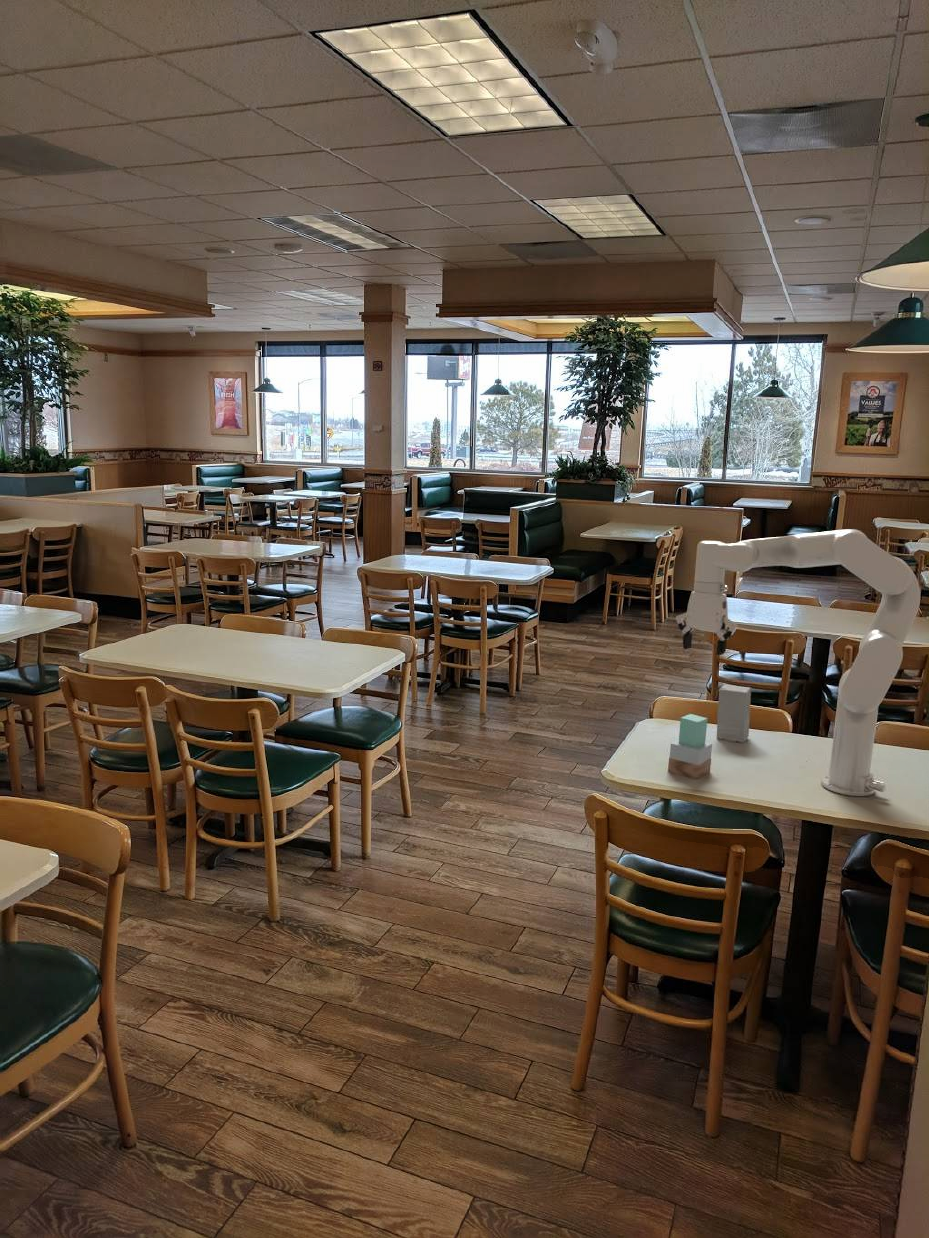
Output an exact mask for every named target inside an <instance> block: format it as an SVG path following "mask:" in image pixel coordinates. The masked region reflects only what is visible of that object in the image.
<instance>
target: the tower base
mask: <svg viewBox="0 0 929 1238" xmlns="http://www.w3.org/2000/svg"><path fill="white" fill-rule="evenodd" d="M667 766H668V768H667V771H668V772H669V771H671V772H670V773H673V774H676V775H680V776H682V777H683V776H684V777H686V778H690V779H691V780H692V779H693V780H697V779H700V778H701V777H703V776H705V775H707V774H710V773H711V769H712V768H711V766H712V758H710V759H708V760H707V761H705V762H703V763H701V764H700V765H694V764H691V763H687V762H683V761H679V760H675V759H672V758H670V756H669V757H668V765H667ZM709 772H710V773H709Z"/></svg>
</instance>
